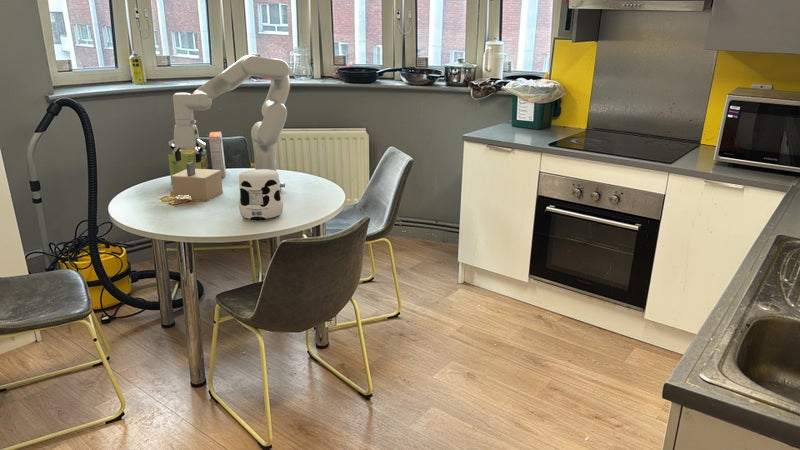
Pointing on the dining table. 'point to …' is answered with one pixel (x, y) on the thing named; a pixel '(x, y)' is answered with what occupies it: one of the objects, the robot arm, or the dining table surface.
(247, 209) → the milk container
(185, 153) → the protein box
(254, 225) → the dining table surface
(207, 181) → the carton
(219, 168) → the cracker box
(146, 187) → the dining table surface
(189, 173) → the lid flap
